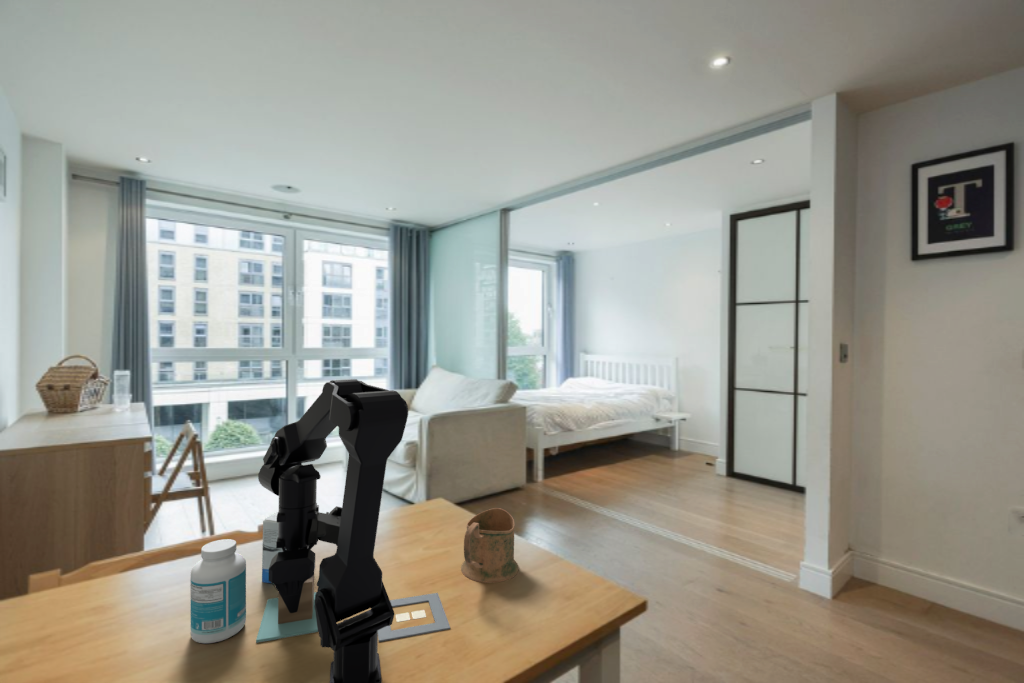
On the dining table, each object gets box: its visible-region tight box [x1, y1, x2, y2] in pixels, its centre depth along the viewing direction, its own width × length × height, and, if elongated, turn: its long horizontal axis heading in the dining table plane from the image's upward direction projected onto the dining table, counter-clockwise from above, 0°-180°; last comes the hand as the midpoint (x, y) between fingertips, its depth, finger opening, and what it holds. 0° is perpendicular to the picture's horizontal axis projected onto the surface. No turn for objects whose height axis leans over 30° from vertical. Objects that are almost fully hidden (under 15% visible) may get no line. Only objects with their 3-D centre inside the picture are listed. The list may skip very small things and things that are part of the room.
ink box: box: [261, 511, 283, 584], centre depth 94 cm, size 8×5×12 cm, turn 168°
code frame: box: [378, 592, 451, 643], centre depth 80 cm, size 11×11×1 cm
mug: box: [460, 507, 519, 584], centre depth 94 cm, size 12×18×12 cm, turn 161°
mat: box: [255, 591, 319, 644], centre depth 80 cm, size 12×10×1 cm
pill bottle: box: [189, 538, 247, 644], centre depth 75 cm, size 8×7×14 cm
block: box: [277, 574, 315, 624], centre depth 80 cm, size 5×5×6 cm
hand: (296, 597), depth 80 cm, fingers open, 9 cm apart
